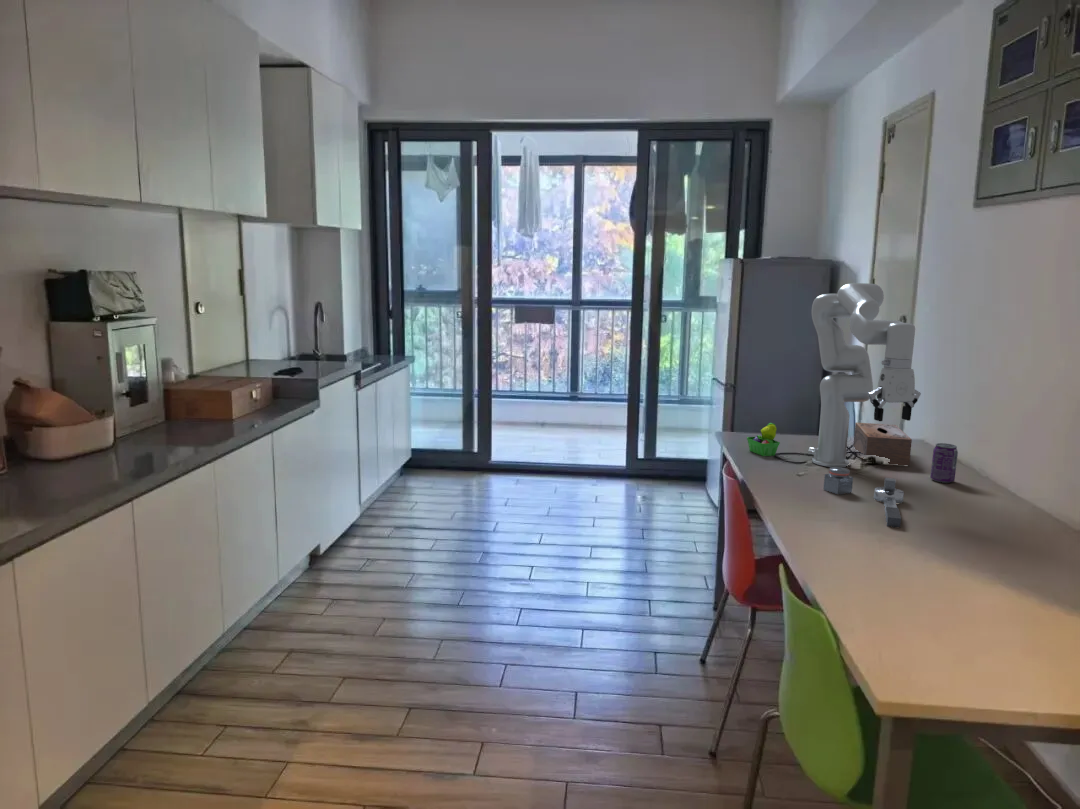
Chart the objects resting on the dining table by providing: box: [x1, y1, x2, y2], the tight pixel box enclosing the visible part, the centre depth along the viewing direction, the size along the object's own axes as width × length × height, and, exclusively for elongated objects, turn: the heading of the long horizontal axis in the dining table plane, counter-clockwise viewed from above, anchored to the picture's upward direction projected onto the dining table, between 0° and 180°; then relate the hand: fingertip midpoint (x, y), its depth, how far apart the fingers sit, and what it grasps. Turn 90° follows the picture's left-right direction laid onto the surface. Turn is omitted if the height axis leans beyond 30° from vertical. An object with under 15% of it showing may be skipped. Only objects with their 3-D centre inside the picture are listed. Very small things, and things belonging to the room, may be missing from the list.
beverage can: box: [930, 442, 959, 484], centre depth 252 cm, size 7×7×12 cm
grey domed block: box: [822, 467, 854, 495], centre depth 238 cm, size 6×6×7 cm
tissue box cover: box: [852, 422, 913, 466], centre depth 284 cm, size 26×14×10 cm, turn 167°
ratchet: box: [873, 477, 905, 528], centre depth 220 cm, size 30×8×6 cm, turn 159°
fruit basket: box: [746, 422, 781, 457], centre depth 285 cm, size 11×9×11 cm
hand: (892, 420), depth 234 cm, fingers open, 9 cm apart
